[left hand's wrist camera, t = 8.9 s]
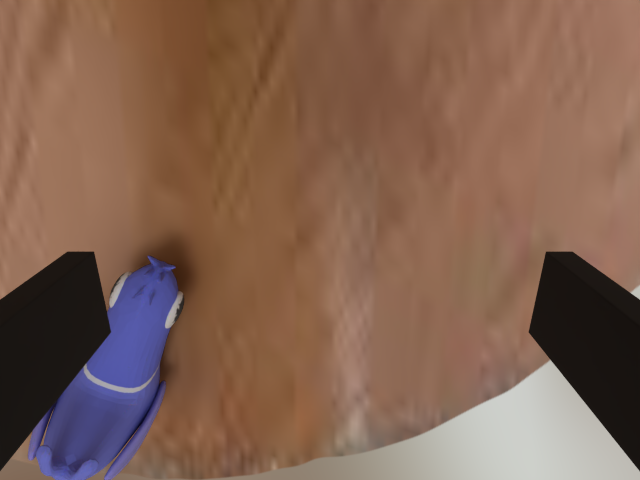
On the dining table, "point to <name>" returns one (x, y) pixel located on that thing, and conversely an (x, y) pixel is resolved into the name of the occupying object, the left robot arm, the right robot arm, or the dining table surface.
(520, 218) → the dining table surface
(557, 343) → the left robot arm
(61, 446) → the toy
